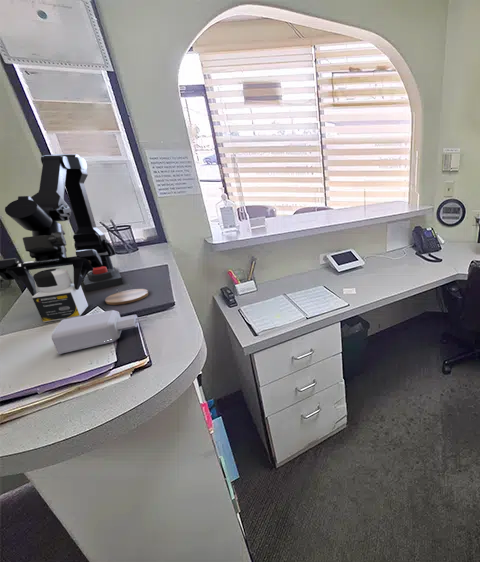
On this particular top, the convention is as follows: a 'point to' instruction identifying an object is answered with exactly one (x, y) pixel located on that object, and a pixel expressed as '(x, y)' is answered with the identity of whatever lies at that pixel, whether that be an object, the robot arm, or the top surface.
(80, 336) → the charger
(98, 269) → the call button
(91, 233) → the robot arm
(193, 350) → the top surface
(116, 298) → the coaster
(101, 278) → the button block
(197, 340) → the top surface
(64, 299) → the medicine bottle
